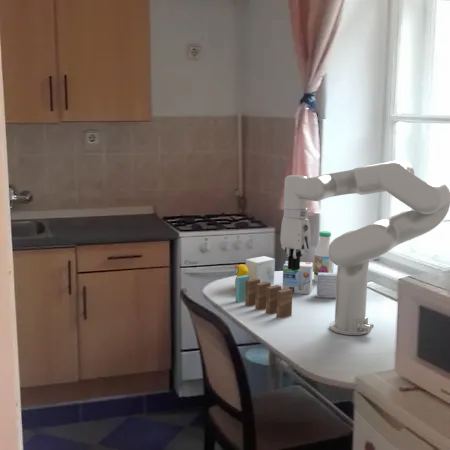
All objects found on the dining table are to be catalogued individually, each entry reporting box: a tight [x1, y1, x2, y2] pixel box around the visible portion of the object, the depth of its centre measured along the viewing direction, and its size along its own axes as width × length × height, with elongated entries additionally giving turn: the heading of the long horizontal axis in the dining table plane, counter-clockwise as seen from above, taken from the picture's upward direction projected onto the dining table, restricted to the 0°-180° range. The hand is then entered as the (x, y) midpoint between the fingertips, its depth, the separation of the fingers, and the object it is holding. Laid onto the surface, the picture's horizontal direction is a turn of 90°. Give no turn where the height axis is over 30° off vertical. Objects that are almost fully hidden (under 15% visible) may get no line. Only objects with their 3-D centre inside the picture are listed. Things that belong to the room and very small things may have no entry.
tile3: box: [254, 282, 272, 311], centre depth 240 cm, size 2×5×9 cm, turn 128°
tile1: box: [276, 289, 293, 319], centre depth 232 cm, size 2×5×9 cm, turn 128°
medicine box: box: [316, 272, 337, 299], centre depth 255 cm, size 8×4×9 cm, turn 84°
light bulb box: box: [281, 260, 314, 295], centre depth 262 cm, size 11×7×11 cm, turn 76°
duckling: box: [234, 263, 251, 288], centre depth 261 cm, size 11×5×10 cm, turn 25°
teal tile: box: [235, 275, 250, 303], centre depth 249 cm, size 2×5×9 cm, turn 128°
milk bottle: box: [313, 230, 335, 282], centre depth 277 cm, size 8×8×20 cm
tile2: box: [265, 284, 282, 315], centre depth 236 cm, size 2×5×9 cm, turn 128°
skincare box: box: [244, 255, 276, 286], centre depth 270 cm, size 10×6×10 cm, turn 132°
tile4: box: [244, 278, 260, 307], centre depth 244 cm, size 2×5×9 cm, turn 128°
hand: (293, 269), depth 226 cm, fingers closed
